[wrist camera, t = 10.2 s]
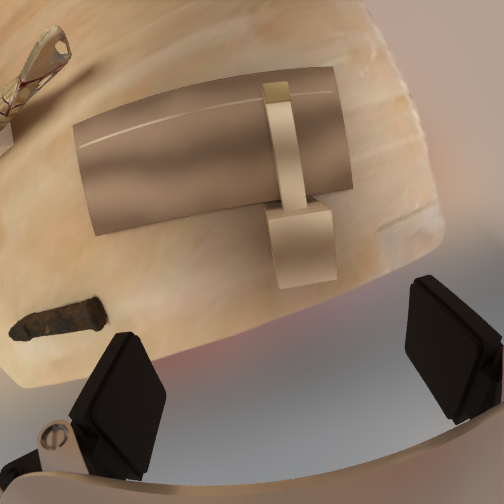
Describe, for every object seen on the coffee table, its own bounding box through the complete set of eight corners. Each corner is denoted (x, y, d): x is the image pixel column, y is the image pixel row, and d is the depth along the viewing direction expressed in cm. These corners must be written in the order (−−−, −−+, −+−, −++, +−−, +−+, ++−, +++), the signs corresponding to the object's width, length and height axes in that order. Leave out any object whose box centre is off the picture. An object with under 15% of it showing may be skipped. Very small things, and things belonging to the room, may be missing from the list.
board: (84, 126, 26) (72, 125, 23) (326, 73, 25) (332, 66, 22) (105, 230, 30) (95, 236, 27) (345, 186, 28) (353, 189, 26)
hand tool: (99, 291, 32) (82, 309, 28) (111, 319, 34) (96, 339, 29) (13, 307, 33) (-4, 321, 29) (23, 329, 35) (8, 344, 30)
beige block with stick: (244, 97, 26) (243, 79, 19) (295, 90, 25) (308, 72, 19) (273, 261, 31) (279, 290, 24) (319, 253, 31) (337, 280, 24)
